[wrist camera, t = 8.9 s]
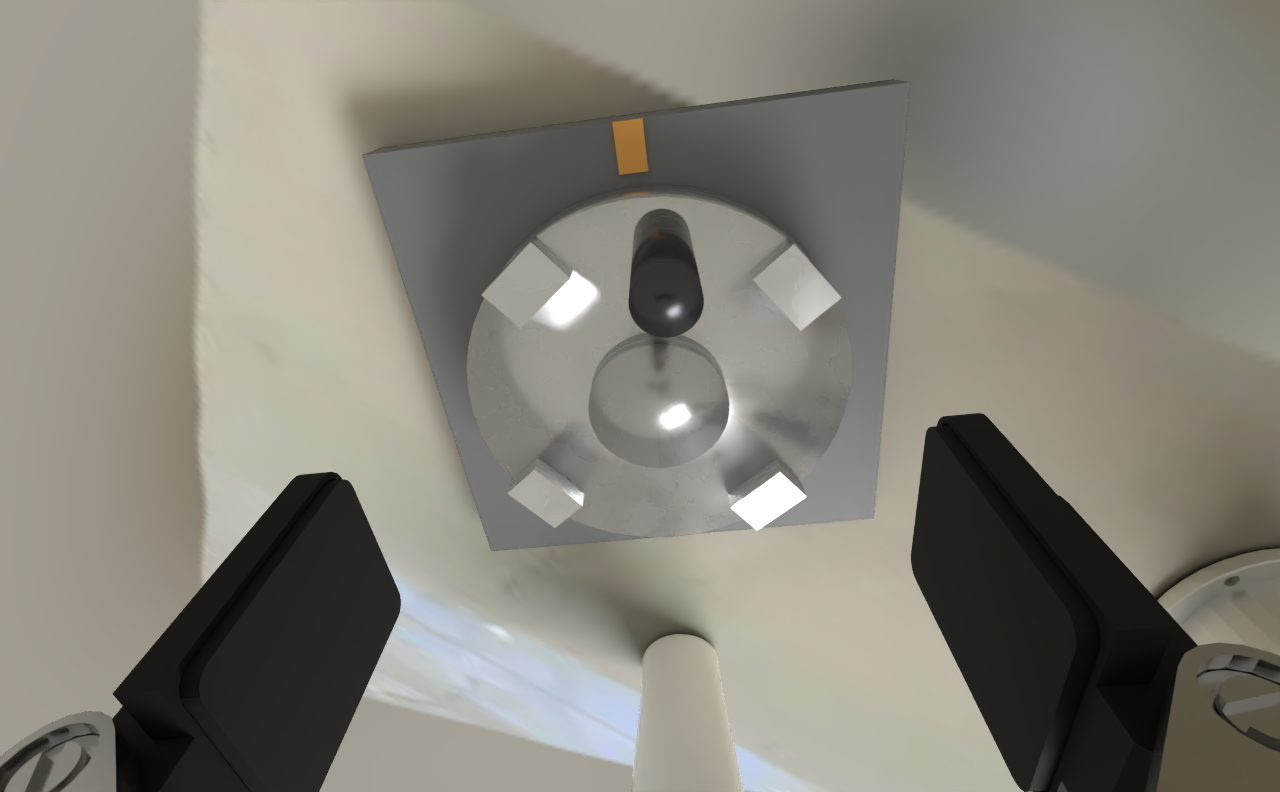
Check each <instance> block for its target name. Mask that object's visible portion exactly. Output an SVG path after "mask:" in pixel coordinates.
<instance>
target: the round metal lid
mask: <svg viewBox="0 0 1280 792" xmlns="http://www.w3.org/2000/svg"><path fill="white" fill-rule="evenodd" d="M482 296H483V297H484V300H483V301H482V304H481V306H480V309H479V311H478V314H477V316H476V319H475V321H474V324H473V328H472V332H471V337H470V341H469V346H468V356H467V382H468V393H469V397H470V401H471V406H472V410H473V414H474V417H475V419H476V422H477V424H478V427H479V430H480V432H481V434H482V436H483V438H484V440H485V441H486V443H487V445H488V447H489V449H490V451H491V452H492V454H493V455H494V456H495V458H496V459H497V460H498V462H499V463H500V464H501V466H502V467H503V469H504V470H505V471H506V472H507V473H508V474H509V475H510V476H511V477H512V478H513V479H512V480H511V483H510V486H509V489H508V492H507V494H509V495H510V496H511V497H513V498H514V499H515V500H517V501H518V502H520V503H521V504H522V505H524V506H525V507H526V508H528V509H529V510H531V511H532V512H533V513H535V514H536V515H537V516H539V517H540V518H542V519H543V520H544V521H546V522H547V523H548V524H550V525H551V526H553V527H554V528H556V527H557V526H558V525H559V524H561V523H562V522H563V521H564V520H566V519H567V518H570V519H572V520H575V521H577V522H580V523H583V524H585V525H588V526H591V527H594V528H598V529H601V530H605V531H609V532H613V533H619V534H625V535H631V536H644V537H673V536H683V535H690V534H697V533H702V532H706V531H710V530H714V529H718V528H722V527H724V526H727V525H730V524H733V523H736V522H739V521H741V520H743V519H744V520H746V521H747V522H748V523H749V524H750V525H751V526H753V527H754V528H755V529H756V530H759V529H760V528H761V527H763V526H764V525H766V524H767V523H769V522H770V521H772V520H773V519H775V518H776V517H778V516H779V515H781V514H782V513H784V512H785V511H786V510H788V509H789V508H791V507H792V506H794V505H795V504H797V503H798V502H800V501H801V500H803V499H804V498H806V497H807V496H806V493H805V490H804V487H803V485H802V483H801V481H802V480H803V479H804V478H805V477H806V476H807V475H808V474H809V473H810V472H811V470H812V469H813V468H814V467H815V465H816V464H817V463H818V462H819V460H820V459H821V458H822V457H823V455H824V454H825V452H826V450H827V449H828V447H829V445H830V444H831V442H832V440H833V439H834V437H835V435H836V433H837V430H838V428H839V426H840V423H841V421H842V419H843V416H844V413H845V409H846V406H847V402H848V398H849V394H850V386H851V378H852V354H851V346H850V340H849V335H848V329H847V326H846V323H845V320H844V317H843V314H842V311H841V308H840V306H839V304H838V302H837V301H838V300H840V299H841V296H840V295H839V294H838V292H837V291H836V290H835V289H834V287H833V286H832V285H831V284H830V283H829V282H828V281H827V279H826V278H825V277H824V276H823V275H822V274H821V273H820V271H819V270H818V269H817V268H816V267H815V266H814V264H813V263H812V262H811V260H810V259H809V258H808V256H807V255H806V254H805V252H804V251H803V250H802V248H801V247H800V246H799V245H798V244H797V243H796V242H795V241H794V240H793V239H792V238H791V237H790V236H789V235H788V234H787V233H786V232H785V231H784V230H783V229H782V228H781V227H780V226H778V225H777V224H776V223H774V222H773V221H771V220H770V219H769V218H767V217H766V216H765V215H763V214H762V213H760V212H758V211H756V210H754V209H753V208H751V207H749V206H747V205H745V204H743V203H741V202H739V201H737V200H734V199H732V198H729V197H726V196H723V195H721V194H718V193H715V192H711V191H706V190H702V189H697V188H692V187H687V186H673V185H647V186H633V187H628V188H623V189H618V190H613V191H608V192H605V193H602V194H600V195H597V196H594V197H591V198H588V199H585V200H583V201H581V202H579V203H577V204H575V205H573V206H571V207H569V208H567V209H565V210H563V211H561V212H559V213H558V214H556V215H555V216H554V217H552V218H551V219H549V220H548V221H546V222H545V223H544V224H542V225H541V226H539V227H538V228H537V229H536V230H535V231H534V232H533V233H532V234H531V235H530V236H529V237H528V238H527V239H526V240H524V241H523V242H522V243H521V245H520V246H519V247H518V248H517V250H516V251H515V252H514V253H513V255H512V256H511V257H510V258H509V260H508V261H507V262H506V264H505V265H504V267H503V268H502V270H501V271H500V273H499V274H498V275H497V276H496V277H495V278H494V279H493V280H492V281H491V283H490V284H489V285H488V286H487V287H486V289H485V290H484V292H483V293H482Z"/></svg>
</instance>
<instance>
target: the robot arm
mask: <svg viewBox="0 0 1280 792" xmlns="http://www.w3.org/2000/svg"><path fill="white" fill-rule="evenodd" d="M911 564H912V570H913V573H914V576H915V579H916V581H917V583H918V585H919V587H920V589H921V591H922V593H923V595H924V597H925V599H926V601H927V603H928V605H929V608H930V610H931V612H932V614H933V616H934V618H935V620H936V622H937V624H938V626H939V628H940V630H941V632H942V634H943V636H944V638H945V640H946V642H947V644H948V646H949V648H950V650H951V652H952V654H953V657H954V659H955V661H956V663H957V665H958V667H959V669H960V671H961V673H962V675H963V677H964V679H965V681H966V683H967V685H968V687H969V689H970V691H971V693H972V695H973V697H974V699H975V701H976V703H977V706H978V708H979V710H980V712H981V714H982V716H983V718H984V720H985V722H986V724H987V726H988V728H989V730H990V732H991V734H992V736H993V738H994V740H995V742H996V744H997V746H998V748H999V750H1000V752H1001V755H1002V757H1003V759H1004V761H1005V763H1006V765H1007V767H1008V769H1009V771H1010V773H1011V775H1012V777H1013V779H1014V780H1015V782H1016V784H1017V785H1018V786H1019V788H1020V789H1021V790H1023V791H1024V792H1031V791H1033V792H1280V549H1267V550H1260V551H1255V552H1250V553H1245V554H1241V555H1238V556H1235V557H1231V558H1228V559H1225V560H1222V561H1219V562H1217V563H1215V564H1212V565H1210V566H1208V567H1205V568H1203V569H1201V570H1199V571H1197V572H1196V573H1194V574H1192V575H1190V576H1188V577H1187V578H1185V579H1183V580H1182V581H1180V582H1179V583H1178V584H1176V585H1175V586H1173V587H1172V588H1171V589H1169V590H1168V591H1167V592H1166V593H1165V594H1163V595H1162V596H1161V597H1160V598H1159V599H1158V600H1156V599H1155V598H1154V597H1153V595H1152V594H1151V593H1150V592H1149V591H1148V590H1147V589H1146V588H1145V587H1144V586H1143V584H1142V583H1141V582H1140V581H1139V580H1138V579H1137V578H1136V577H1135V576H1134V575H1133V573H1132V572H1131V571H1130V570H1129V569H1128V568H1127V567H1126V566H1125V565H1124V563H1123V562H1122V561H1121V560H1120V559H1119V558H1118V557H1117V556H1116V555H1115V554H1114V552H1113V551H1112V550H1111V549H1110V548H1109V547H1108V546H1107V545H1106V544H1105V543H1104V541H1103V540H1102V539H1101V538H1100V537H1099V536H1098V535H1097V534H1096V533H1095V532H1094V530H1093V529H1092V528H1091V527H1090V526H1089V525H1088V524H1087V523H1086V522H1085V521H1084V519H1083V518H1082V517H1081V516H1080V515H1079V514H1078V513H1077V512H1076V511H1075V510H1074V508H1073V507H1072V506H1071V505H1070V504H1069V503H1068V502H1067V501H1065V500H1064V499H1063V498H1062V497H1061V496H1058V495H1057V494H1056V493H1055V492H1054V491H1053V490H1052V488H1051V487H1050V486H1049V485H1048V484H1047V483H1046V482H1045V481H1044V480H1043V478H1042V477H1041V476H1040V475H1039V474H1038V473H1037V472H1036V471H1035V470H1034V468H1033V467H1032V466H1031V465H1030V464H1029V463H1028V462H1027V461H1026V460H1025V458H1024V457H1023V456H1022V455H1021V454H1020V453H1019V452H1018V451H1017V450H1016V448H1015V447H1014V446H1013V445H1012V444H1011V443H1010V442H1009V441H1008V440H1007V438H1006V437H1005V436H1004V435H1003V434H1002V433H1001V432H1000V431H999V430H998V428H997V427H996V426H995V425H994V424H993V423H992V422H991V421H990V420H989V418H988V417H987V416H985V415H984V414H981V413H976V414H965V415H954V416H943V417H942V418H940V420H939V421H938V424H937V426H936V427H930V428H928V430H927V432H926V437H925V445H924V453H923V461H922V469H921V478H920V486H919V494H918V502H917V510H916V519H915V527H914V535H913V543H912V551H911ZM400 607H401V599H400V594H399V591H398V589H397V586H396V584H395V582H394V580H393V577H392V575H391V573H390V570H389V568H388V566H387V564H386V561H385V559H384V557H383V554H382V552H381V550H380V548H379V545H378V543H377V541H376V538H375V536H374V534H373V532H372V529H371V527H370V525H369V522H368V520H367V518H366V516H365V513H364V511H363V509H362V506H361V504H360V502H359V500H358V497H357V495H356V493H355V491H354V488H353V486H352V485H351V483H350V482H349V481H348V480H342V478H341V477H340V476H339V475H338V474H337V473H334V472H326V473H315V474H304V475H299V476H296V477H295V478H294V479H293V480H292V481H291V482H290V483H289V484H288V485H287V487H286V488H285V489H284V490H283V491H282V493H281V494H280V495H279V496H278V497H277V498H276V500H275V501H274V502H273V503H272V504H271V506H270V507H269V508H268V509H267V510H266V512H265V513H264V514H263V515H262V516H261V518H260V519H259V520H258V521H257V522H256V523H255V525H254V526H253V527H252V528H251V529H250V531H249V532H248V533H247V534H246V535H245V537H244V538H243V539H242V540H241V541H240V543H239V544H238V545H237V546H236V547H235V548H234V550H233V551H232V552H231V553H230V554H229V556H228V557H227V558H226V559H225V560H224V562H223V563H222V564H221V565H220V566H219V568H218V569H217V570H216V571H215V572H214V573H213V575H212V576H211V577H210V578H209V579H208V581H207V582H206V583H205V584H204V585H203V587H202V588H201V589H200V590H199V591H198V593H197V594H196V595H195V596H194V597H193V598H192V600H191V601H190V602H189V603H188V605H187V606H186V607H185V608H184V609H183V610H182V612H181V613H180V614H179V615H178V616H177V618H176V619H175V620H174V621H173V623H171V625H170V626H169V627H168V628H167V630H166V631H165V632H164V633H163V634H162V636H161V637H160V638H159V639H158V640H157V641H156V643H155V644H154V645H153V646H152V647H151V648H150V650H149V651H148V652H147V653H146V654H145V656H144V657H143V658H142V659H141V661H140V662H139V663H138V664H137V665H136V666H135V668H134V669H133V670H132V671H131V673H130V674H129V675H128V676H127V677H126V678H125V680H124V681H123V682H122V683H121V684H120V686H119V687H118V688H117V689H116V690H115V691H114V693H113V695H114V696H115V697H116V698H117V700H118V701H119V702H120V703H121V704H122V705H123V707H122V708H121V709H120V711H119V712H118V713H117V714H116V715H115V716H114V718H113V719H112V718H111V717H110V716H108V715H106V714H104V713H103V712H92V711H86V712H81V713H78V714H74V715H69V716H66V717H64V718H61V719H59V720H57V721H55V722H52V723H50V724H48V725H46V726H44V727H42V728H40V729H39V730H37V731H35V732H34V733H32V734H31V735H29V736H27V737H26V738H24V739H22V740H21V741H20V742H18V743H17V744H16V745H15V746H13V747H12V748H11V749H9V750H8V751H7V752H5V753H4V754H3V755H2V756H0V792H319V790H320V788H321V786H322V784H323V782H324V779H325V777H326V775H327V773H328V771H329V768H330V766H331V764H332V762H333V760H334V757H335V755H336V753H337V751H338V749H339V746H340V744H341V742H342V740H343V738H344V735H345V733H346V731H347V729H348V726H349V724H350V722H351V720H352V718H353V715H354V713H355V711H356V708H357V706H358V704H359V702H360V700H361V698H362V695H363V693H364V691H365V689H366V687H367V684H368V682H369V680H370V678H371V676H372V673H373V671H374V669H375V667H376V664H377V662H378V660H379V658H380V656H381V653H382V651H383V649H384V647H385V645H386V642H387V640H388V638H389V636H390V633H391V631H392V629H393V627H394V625H395V622H396V620H397V618H398V615H399V613H400Z"/></svg>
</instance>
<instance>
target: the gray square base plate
mask: <svg viewBox="0 0 1280 792" xmlns="http://www.w3.org/2000/svg"><path fill="white" fill-rule="evenodd" d="M909 93H910V82H906V81H899V80H886V81H878V82H870V83H863V84H855V85H848V86H840V87H833V88H825V89H818V90H811V91H803V92H796V93H788V94H781V95H773V96H766V97H758V98H751V99H744V100H736V101H729V102H721V103H713V104H707V105H699V106H691V107H684V108H676V109H669V110H661V111H654V112H646V113H639V114H631V115H624V116H617V117H609V118H602V119H594V120H587V121H579V122H572V123H564V124H557V125H549V126H542V127H535V128H527V129H520V130H512V131H505V132H497V133H490V134H482V135H475V136H467V137H460V138H452V139H445V140H438V141H430V142H423V143H415V144H408V145H400V146H393V147H385V148H380V149H377V150H374V151H372V152H369V153H367V154H364V155H362V157H363V160H364V163H365V166H366V169H367V172H368V175H369V178H370V181H371V185H372V188H373V191H374V194H375V197H376V200H377V203H378V206H379V209H380V212H381V215H382V218H383V221H384V224H385V227H386V230H387V234H388V237H389V240H390V243H391V246H392V249H393V252H394V255H395V258H396V261H397V264H398V267H399V270H400V273H401V276H402V279H403V283H404V286H405V289H406V292H407V295H408V298H409V301H410V304H411V307H412V310H413V313H414V316H415V319H416V322H417V325H418V328H419V332H420V335H421V338H422V341H423V344H424V347H425V350H426V353H427V356H428V359H429V362H430V365H431V368H432V371H433V374H434V377H435V381H436V384H437V387H438V390H439V393H440V396H441V399H442V402H443V405H444V408H445V411H446V414H447V417H448V420H449V423H450V426H451V430H452V433H453V436H454V439H455V442H456V445H457V448H458V451H459V454H460V457H461V460H462V463H463V466H464V469H465V472H466V475H467V479H468V482H469V485H470V488H471V491H472V494H473V497H474V500H475V503H476V506H477V509H478V512H479V515H480V518H481V521H482V524H483V528H484V531H485V534H486V537H487V540H488V543H489V546H490V549H491V551H498V550H510V549H522V548H533V547H545V546H557V545H569V544H581V543H592V542H604V541H616V540H628V539H640V538H651V537H644V536H631V535H625V534H619V533H613V532H609V531H605V530H601V529H598V528H594V527H591V526H588V525H585V524H583V523H580V522H577V521H575V520H572V519H570V518H567V519H566V520H564V521H563V522H562V523H561V524H559V525H558V526H557V527H556V528H554V527H553V526H551V525H550V524H548V523H547V522H546V521H544V520H543V519H542V518H540V517H539V516H537V515H536V514H535V513H533V512H532V511H531V510H529V509H528V508H526V507H525V506H524V505H522V504H521V503H520V502H518V501H517V500H515V499H514V498H513V497H511V496H510V495H509V494H507V492H508V489H509V486H510V483H511V480H512V479H513V478H512V477H511V476H510V475H509V474H508V473H507V472H506V471H505V470H504V469H503V467H502V466H501V464H500V463H499V462H498V460H497V459H496V458H495V456H494V455H493V454H492V452H491V451H490V449H489V447H488V445H487V443H486V441H485V440H484V438H483V436H482V434H481V432H480V430H479V427H478V424H477V422H476V419H475V417H474V414H473V410H472V406H471V401H470V397H469V393H468V382H467V356H468V346H469V341H470V337H471V332H472V328H473V324H474V321H475V319H476V316H477V314H478V311H479V309H480V306H481V304H482V301H483V300H484V297H483V296H482V293H483V292H484V290H485V289H486V287H487V286H488V285H489V284H490V283H491V281H492V280H493V279H494V278H495V277H496V276H497V275H498V274H499V273H500V271H501V270H502V268H503V267H504V265H505V264H506V262H507V261H508V260H509V258H510V257H511V256H512V255H513V253H514V252H515V251H516V250H517V248H518V247H519V246H520V245H521V243H522V242H523V241H524V240H526V239H527V238H528V237H529V236H530V235H531V234H532V233H533V232H534V231H535V230H536V229H537V228H538V227H539V226H541V225H542V224H544V223H545V222H546V221H548V220H549V219H551V218H552V217H554V216H555V215H556V214H558V213H559V212H561V211H563V210H565V209H567V208H569V207H571V206H573V205H575V204H577V203H579V202H581V201H583V200H585V199H588V198H591V197H594V196H597V195H600V194H602V193H605V192H608V191H613V190H618V189H623V188H628V187H633V186H647V185H673V186H687V187H692V188H697V189H702V190H706V191H711V192H715V193H718V194H721V195H723V196H726V197H729V198H732V199H734V200H737V201H739V202H741V203H743V204H745V205H747V206H749V207H751V208H753V209H754V210H756V211H758V212H760V213H762V214H763V215H765V216H766V217H767V218H769V219H770V220H771V221H773V222H774V223H776V224H777V225H778V226H780V227H781V228H782V229H783V230H784V231H785V232H786V233H787V234H788V235H789V236H790V237H791V238H792V239H793V240H794V241H795V242H796V243H797V244H798V245H799V246H800V247H801V248H802V250H803V251H804V252H805V254H806V255H807V256H808V258H809V259H810V260H811V262H812V263H813V264H814V266H815V267H816V268H817V269H818V270H819V271H820V273H821V274H822V275H823V276H824V277H825V278H826V279H827V281H828V282H829V283H830V284H831V285H832V286H833V287H834V289H835V290H836V291H837V292H838V294H839V295H840V296H841V299H840V300H838V301H837V302H838V304H839V306H840V308H841V311H842V314H843V317H844V320H845V323H846V326H847V329H848V335H849V340H850V346H851V354H852V378H851V386H850V394H849V398H848V402H847V406H846V409H845V413H844V416H843V419H842V421H841V423H840V426H839V428H838V430H837V433H836V435H835V437H834V439H833V440H832V442H831V444H830V445H829V447H828V449H827V450H826V452H825V454H824V455H823V457H822V458H821V459H820V460H819V462H818V463H817V464H816V465H815V467H814V468H813V469H812V470H811V472H810V473H809V474H808V475H807V476H806V477H805V478H804V479H803V480H802V481H801V483H802V485H803V487H804V490H805V493H806V496H807V497H806V498H804V499H803V500H801V501H800V502H798V503H797V504H795V505H794V506H792V507H791V508H789V509H788V510H786V511H785V512H784V513H782V514H781V515H779V516H778V517H776V518H775V519H773V520H772V521H770V522H769V523H767V524H766V525H764V526H763V527H761V528H769V527H781V526H793V525H805V524H816V523H828V522H840V521H852V520H864V519H874V512H875V500H876V488H877V476H878V464H879V452H880V440H881V428H882V416H883V404H884V392H885V381H886V369H887V357H888V345H889V333H890V321H891V309H892V297H893V285H894V273H895V261H896V249H897V237H898V225H899V213H900V201H901V189H902V177H903V165H904V152H905V141H906V128H907V117H908V105H909ZM746 529H755V528H754V527H753V526H751V525H750V524H749V523H748V522H747V521H746V520H744V519H743V520H741V521H739V522H736V523H733V524H730V525H727V526H724V527H722V528H718V529H714V530H710V531H706V532H702V533H710V532H722V531H734V530H746ZM697 534H698V533H697Z"/></svg>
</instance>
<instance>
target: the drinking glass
mask: <svg viewBox="0 0 1280 792" xmlns="http://www.w3.org/2000/svg"><path fill="white" fill-rule="evenodd" d="M631 792H744V789H743V784H742V779H741V774H740V770H739V765H738V760H737V756H736V751H735V746H734V741H733V737H732V732H731V727H730V722H729V717H728V712H727V707H726V702H725V697H724V692H723V687H722V682H721V675H720V666H719V659H718V656H717V653H716V651H715V650H714V648H713V647H712V646H711V645H710V644H709V643H708V642H707V641H705V640H704V639H702V638H699V637H697V636H694V635H689V634H673V635H668V636H664V637H662V638H660V639H658V640H656V641H655V642H653V643H652V644H651V645H650V646H649V647H648V648H647V650H646V651H645V653H644V656H643V660H642V686H641V697H640V708H639V718H638V728H637V738H636V748H635V757H634V767H633V776H632V786H631Z"/></svg>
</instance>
